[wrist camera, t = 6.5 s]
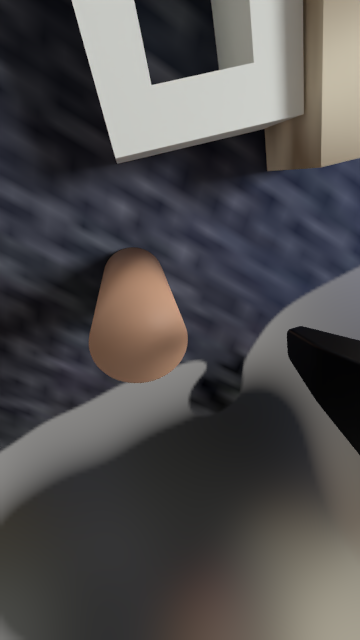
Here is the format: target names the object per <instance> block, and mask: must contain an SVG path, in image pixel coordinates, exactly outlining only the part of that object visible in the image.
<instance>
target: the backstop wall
mask: <svg viewBox="0 0 360 640" xmlns="http://www.w3.org/2000/svg"><path fill="white" fill-rule="evenodd" d="M303 67H304V114H303V115H300V116H297V117H295V118H292V119H289V120H286V121H284V122H281V123H278V124H276V125H273V126H270V127H268V128H265V143H266V159H267V171H276V170H290V169H304V168H318V167H324V166H328V165H332V164H336V163H340V162H344V161H348V160H352V159H356V158H360V0H303Z"/></svg>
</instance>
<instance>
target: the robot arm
mask: <svg viewBox="0 0 360 640" xmlns="http://www.w3.org/2000/svg"><path fill="white" fill-rule="evenodd" d="M287 348H288V356H289V358H290V360H291V362H292V364H293V365H294V367H295V368H296V370H297V371H298V373H299V375H300V376H301V378H302V379H303V381H304V382H305V384H306V386H307V387H308V389H309V390H310V392H311V394H312V395H313V396H314V398H315V399H316V401H317V402H318V403H319V405H320V406H321V407H322V409H323V410H324V411H325V412H326V414H327V415H328V416H329V417H330V419H331V420H332V421H333V422H334V424H335V425H336V426H337V427H338V429H339V430H340V431H341V432H342V433H343V435H344V436H345V437H346V438H347V440H348V441H349V442H350V444H351V445H352V446H353V447H354V449H355V450H356V451H357V452H358V454H359V455H360V341H359V340H355V339H350V338H347V337H343V336H339V335H334V334H331V333H327V332H323V331H319V330H315V329H311V328H307V327H303V326H299V327H296V328H292V329H289V330H288V332H287Z"/></svg>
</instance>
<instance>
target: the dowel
mask: <svg viewBox="0 0 360 640" xmlns="http://www.w3.org/2000/svg"><path fill="white" fill-rule="evenodd" d="M187 342H188V336H187V330H186V327H185V324H184V322H183V319H182V317H181V314H180V312H179V309H178V307H177V304H176V302H175V299H174V297H173V295H172V292H171V290H170V287H169V285H168V282H167V280H166V277H165V275H164V272H163V270H162V267H161V265H160V263H159V261H158V260H157V259H156V257H155V256H154V255H152V254H151V253H150V252H148V251H146V250H144V249H141V248H133V247H132V248H125V249H122V250H120V251H118V252H116V253H115V254H113V255H112V256H111V257H110V259H109V260H108V261H107V263H106V265H105V269H104V273H103V277H102V282H101V286H100V291H99V295H98V299H97V304H96V308H95V313H94V317H93V322H92V326H91V331H90V335H89V349H90V353H91V356H92V358H93V360H94V362H95V363H96V365H97V366H98V367H99V368H100V369H101V370H102V371H103V372H104V373H106V374H107V375H109V376H110V377H112V378H114V379H117V380H120V381H123V382H128V383H144V382H149V381H153V380H156V379H159V378H161V377H163V376H165V375H166V374H168V373H169V372H171V371H172V370H173V369H174V368H175V367H176V366H177V365H178V364H179V363H180V361H181V360H182V358H183V356H184V354H185V352H186V348H187Z"/></svg>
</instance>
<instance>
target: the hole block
mask: <svg viewBox="0 0 360 640" xmlns="http://www.w3.org/2000/svg"><path fill="white" fill-rule="evenodd" d="M72 4H73V7H74V11H75V15H76V18H77V22H78V25H79V29H80V32H81V36H82V40H83V43H84V47H85V50H86V54H87V58H88V61H89V65H90V68H91V72H92V76H93V79H94V83H95V86H96V90H97V94H98V97H99V101H100V104H101V108H102V112H103V115H104V119H105V122H106V126H107V130H108V133H109V137H110V140H111V144H112V148H113V151H114V155H115V158H116V162H117V164H119V163H123V162H127V161H132V160H136V159H140V158H144V157H148V156H153V155H157V154H161V153H165V152H169V151H174V150H178V149H182V148H186V147H191V146H195V145H199V144H203V143H207V142H212V141H216V140H220V139H224V138H228V137H233V136H237V135H241V134H245V133H250V132H254V131H258V130H262V129H265V128H268V127H270V126H273V125H276V124H278V123H281V122H284V121H286V120H289V119H292V118H295V117H297V116H300V115H303V114H304V67H303V0H211V6H212V14H213V23H214V32H215V40H216V49H217V57H218V66H219V70H218V71H213V72H209V73H204V74H200V75H195V76H191V77H186V78H182V79H177V80H173V81H168V82H164V83H159V84H155V85H151V80H150V75H149V70H148V65H147V61H146V56H145V51H144V46H143V41H142V36H141V31H140V26H139V22H138V17H137V12H136V7H135V2H134V0H72Z"/></svg>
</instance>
